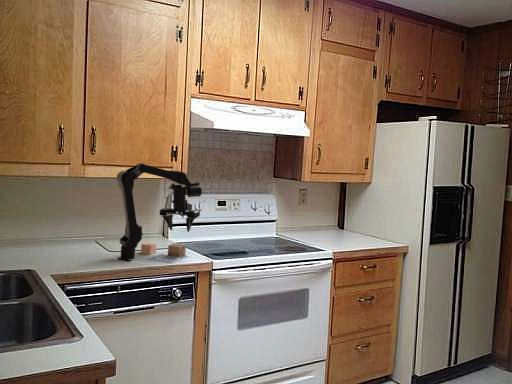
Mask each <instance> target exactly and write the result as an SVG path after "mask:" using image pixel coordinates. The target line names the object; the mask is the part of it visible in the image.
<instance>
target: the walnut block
mask: <svg viewBox="0 0 512 384" xmlns="http://www.w3.org/2000/svg"><path fill="white" fill-rule="evenodd" d="M186 248H187V245H186V244H181V243H172V244H169V245H168V248H167V249H168V250H167V252H168V256H171V257H177V258H180V257H183V256H185V255H186V250H187V249H186Z"/></svg>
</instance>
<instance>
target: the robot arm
mask: <svg viewBox="0 0 512 384" xmlns="http://www.w3.org/2000/svg"><path fill="white" fill-rule="evenodd" d="M144 173H145V174H148V175H153V176H156V177H160V178H164V179H166V180H168V181H170V182H172V183H171V184H170V185H169V186H168V189H170V190H172V200H171V203H172V207H173V208H172V207H164V208H161V209H160V210H159V216H161V217H162V218H163V219H164V221H165V222H166V224H167V226H168V227H169V230H170V231H173V217H174V215H178V216H179V215H180V216H186V218H185V223H186V230H187V231H186V232H188V233H190V231H191V228H192V225H193V223H194V221H195V219H197V218H199V217H200V216H201V212H200V210H198V209H196V210H195V209H193V204H191V203H189V202H188V199H186V197H188V198H196V197H197V198H198V197H200V198H201V196H202V193H203V190H202V187H201V185H200V182H190V181H189V179H188V175H187V173H186V172H184V171H180V170H173V169H172V170H170V169H164V168H159V167H156V166H152V165H148V164H146V163H142V162H139V163H137V164H135V165H134V166H132V167H129V168H127V169H126V170H121V171H119V172H118V173H117V174H116V181H117V184H118V186H119V189H120V191H121V193H122V201H123V207H124V208H123V209H124V216H125V221H126V223H125V228H124V235H123V236H121V238H120V239H119V243H120V245H121V246H120V257H118V258H117V260H118V261H124V262H132V261H134V260H133V259H135V256H136V248H137V247H138V245H139V243H140V242H141V241H142V238H143V236H144V234H143V226H141V225H140V224H138V223H137V216H136V210H135V201H134V194H133V191H134V187H135V180H137V179H138V178H139V177H140V176H141V175H143V174H144ZM174 183H176V184H174Z"/></svg>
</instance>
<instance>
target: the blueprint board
mask: <svg viewBox="0 0 512 384" xmlns="http://www.w3.org/2000/svg"><path fill="white" fill-rule="evenodd" d="M189 257H190V255H186V254H185V256H183V257H180V258H177V257H171V256H168V251H167V252H164V253H161V254H157V255H155V256H152V257H150V258H147V259H146V260H149V261H154V262H159V263H165V264H173V263H176V262H179V261H181V260H183V259H185V258H189Z"/></svg>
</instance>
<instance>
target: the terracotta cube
mask: <svg viewBox="0 0 512 384" xmlns="http://www.w3.org/2000/svg"><path fill="white" fill-rule="evenodd" d="M156 253H157V243H152V242H144V243H141V245H140V254H142V255H149V256H151V255H154V254H156Z"/></svg>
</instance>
